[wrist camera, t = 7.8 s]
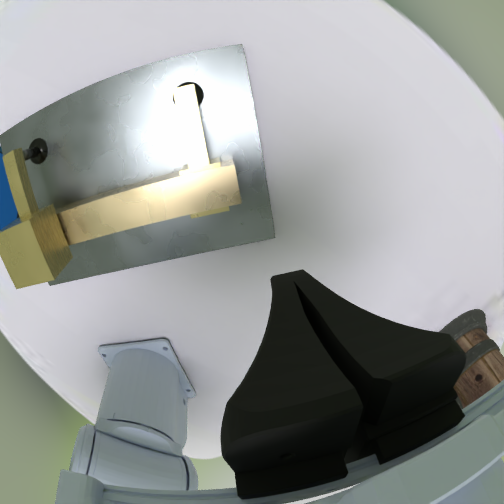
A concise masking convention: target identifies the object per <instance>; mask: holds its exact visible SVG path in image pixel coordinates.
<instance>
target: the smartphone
mask: <svg viewBox="0 0 504 504" xmlns="http://www.w3.org/2000/svg"><path fill="white" fill-rule="evenodd" d="M2 157H3V153H2V149H1V147H0V230H1V229H3V228H4V227H5V226H7V225H8V224H10V223H11V222H13V221H14V220H15V219H17V218H20V217H19V214H18V211H17V208H16V205H15V202H14V199H13V196H12V192H11V189H10V185H9V182H8V178H7V174H6V170H5V166H4V162H3V158H2Z"/></svg>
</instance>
